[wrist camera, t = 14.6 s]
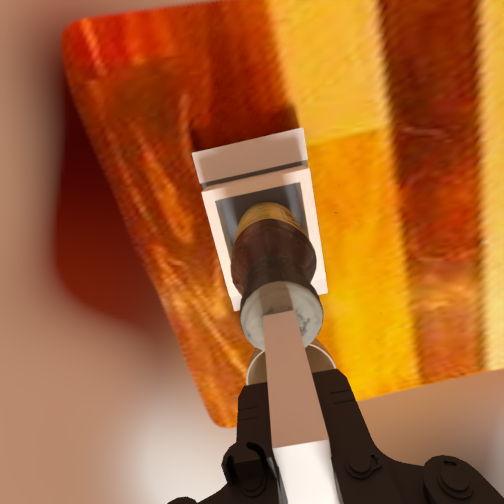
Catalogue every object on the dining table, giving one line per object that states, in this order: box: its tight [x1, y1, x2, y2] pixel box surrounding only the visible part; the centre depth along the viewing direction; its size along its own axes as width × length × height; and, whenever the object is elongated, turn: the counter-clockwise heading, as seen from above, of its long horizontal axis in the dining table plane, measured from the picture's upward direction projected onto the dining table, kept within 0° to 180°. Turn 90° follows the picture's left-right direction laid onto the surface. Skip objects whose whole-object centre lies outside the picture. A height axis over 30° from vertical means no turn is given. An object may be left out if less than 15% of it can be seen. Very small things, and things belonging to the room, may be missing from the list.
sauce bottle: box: [230, 202, 323, 352], centre depth 24 cm, size 7×6×20 cm
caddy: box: [192, 127, 328, 311], centre depth 32 cm, size 11×18×6 cm, turn 12°
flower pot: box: [246, 338, 336, 385], centre depth 37 cm, size 10×10×7 cm
